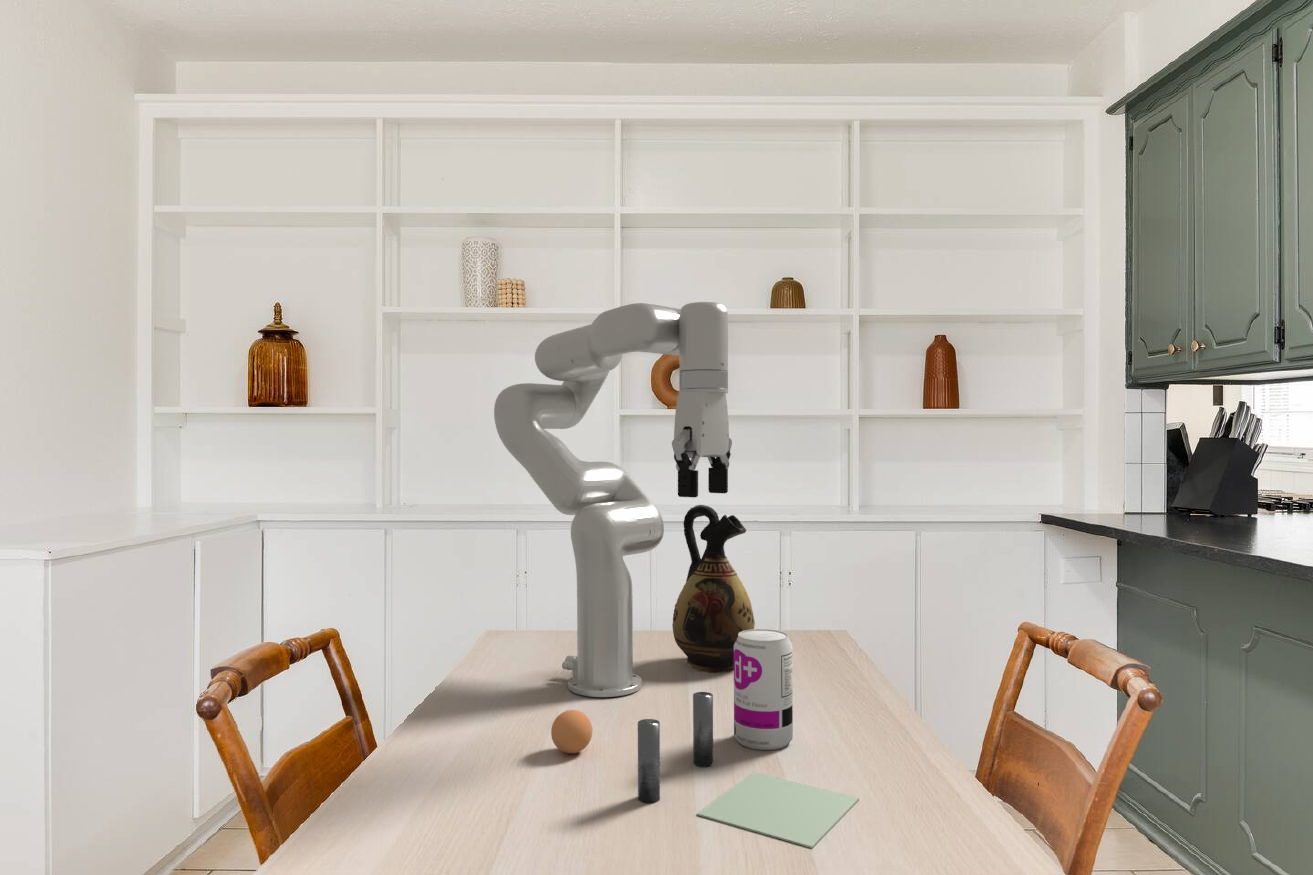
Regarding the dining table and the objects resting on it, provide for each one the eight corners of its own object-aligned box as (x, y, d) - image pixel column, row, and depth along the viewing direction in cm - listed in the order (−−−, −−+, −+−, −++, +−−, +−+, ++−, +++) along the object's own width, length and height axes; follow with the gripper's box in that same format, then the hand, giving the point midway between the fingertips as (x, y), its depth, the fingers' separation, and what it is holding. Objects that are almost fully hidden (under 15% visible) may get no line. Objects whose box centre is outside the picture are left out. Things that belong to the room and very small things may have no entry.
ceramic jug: (766, 660, 160) (766, 504, 160) (735, 681, 146) (735, 510, 146) (687, 650, 168) (686, 501, 168) (650, 669, 154) (650, 507, 154)
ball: (542, 754, 113) (542, 712, 113) (569, 741, 118) (569, 701, 118) (574, 762, 110) (574, 720, 110) (600, 749, 115) (600, 708, 115)
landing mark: (696, 814, 95) (696, 813, 95) (753, 773, 106) (753, 771, 106) (812, 848, 87) (812, 846, 87) (859, 799, 99) (859, 797, 99)
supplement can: (755, 755, 112) (755, 644, 112) (723, 736, 119) (722, 631, 119) (804, 745, 116) (804, 637, 116) (770, 727, 123) (769, 625, 123)
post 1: (633, 799, 99) (633, 723, 99) (646, 791, 101) (645, 717, 101) (651, 804, 97) (651, 727, 97) (664, 796, 99) (663, 721, 99)
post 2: (689, 764, 109) (689, 695, 109) (699, 757, 111) (699, 690, 111) (706, 768, 108) (706, 699, 108) (716, 762, 110) (716, 693, 110)
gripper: (708, 387, 138) (708, 490, 138) (653, 381, 123) (653, 497, 123) (749, 385, 134) (749, 492, 134) (698, 379, 119) (697, 499, 119)
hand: (703, 494), depth 129 cm, fingers open, 9 cm apart
